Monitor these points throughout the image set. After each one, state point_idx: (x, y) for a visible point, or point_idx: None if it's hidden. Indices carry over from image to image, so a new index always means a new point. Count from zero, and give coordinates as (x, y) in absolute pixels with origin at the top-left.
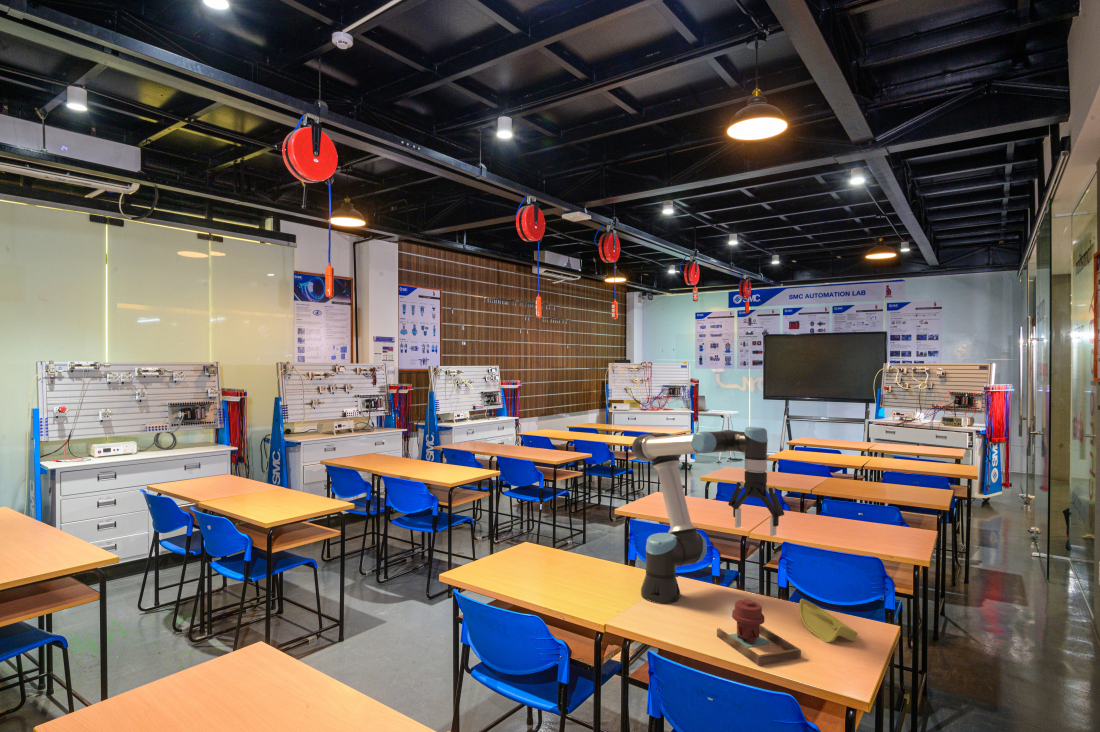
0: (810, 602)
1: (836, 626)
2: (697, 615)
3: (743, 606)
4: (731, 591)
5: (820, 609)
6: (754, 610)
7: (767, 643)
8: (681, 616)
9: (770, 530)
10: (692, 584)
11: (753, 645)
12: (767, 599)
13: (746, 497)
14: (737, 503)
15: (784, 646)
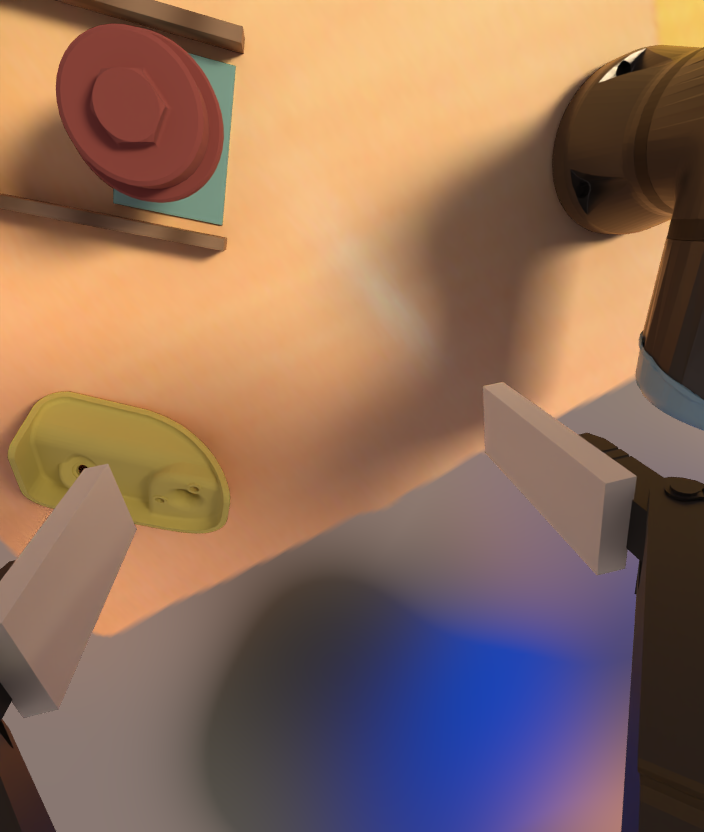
0: (224, 521)
1: None
2: (424, 139)
3: (113, 50)
4: None
5: (200, 526)
6: (58, 74)
7: None
8: (451, 61)
9: (83, 494)
10: (610, 357)
11: None
12: (390, 484)
13: (629, 798)
14: (682, 556)
15: (48, 203)
